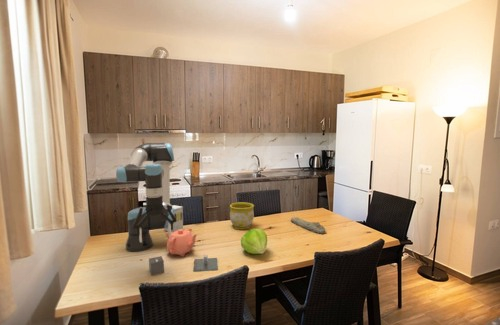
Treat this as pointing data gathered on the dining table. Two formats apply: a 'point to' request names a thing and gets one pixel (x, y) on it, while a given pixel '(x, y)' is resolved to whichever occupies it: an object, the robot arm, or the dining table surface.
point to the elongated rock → (309, 225)
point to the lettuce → (254, 241)
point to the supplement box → (177, 218)
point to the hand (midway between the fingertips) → (155, 239)
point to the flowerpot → (241, 215)
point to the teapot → (180, 242)
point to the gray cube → (156, 265)
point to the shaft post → (205, 264)
